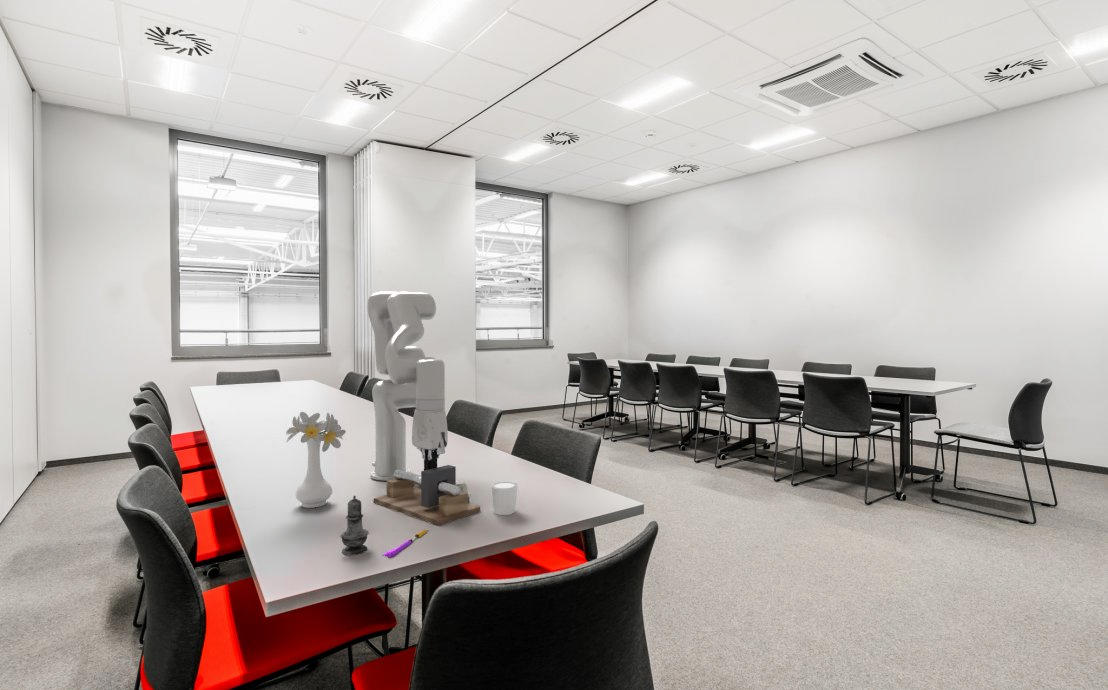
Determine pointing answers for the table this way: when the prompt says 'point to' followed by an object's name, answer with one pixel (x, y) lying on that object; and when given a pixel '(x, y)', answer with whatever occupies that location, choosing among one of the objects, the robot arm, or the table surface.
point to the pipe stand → (409, 502)
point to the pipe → (417, 480)
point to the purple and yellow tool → (403, 545)
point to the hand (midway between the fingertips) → (430, 473)
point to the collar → (435, 484)
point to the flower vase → (315, 456)
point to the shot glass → (504, 497)
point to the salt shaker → (354, 530)
